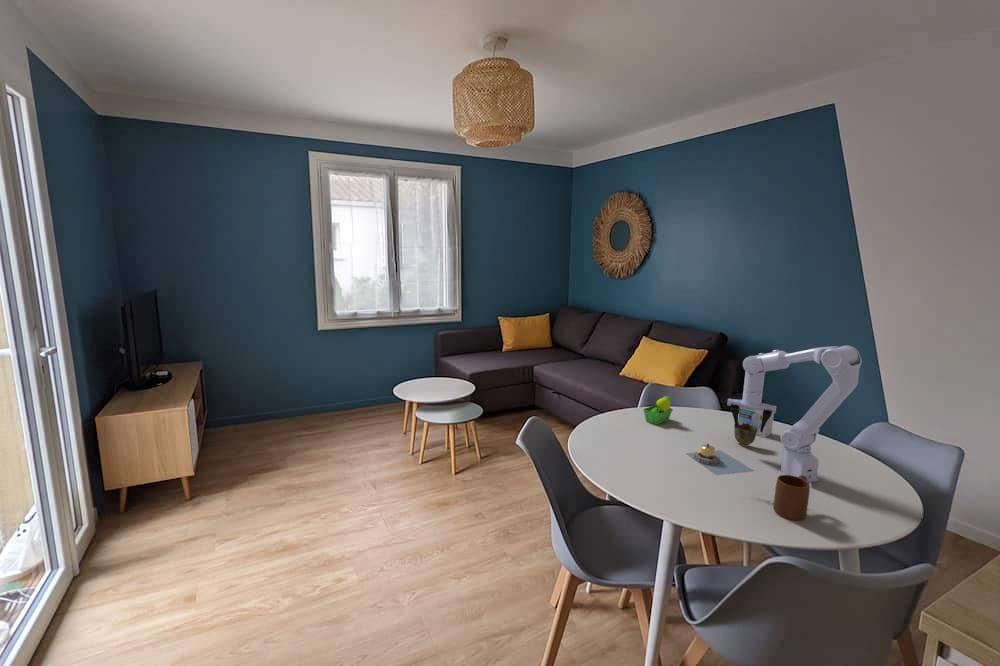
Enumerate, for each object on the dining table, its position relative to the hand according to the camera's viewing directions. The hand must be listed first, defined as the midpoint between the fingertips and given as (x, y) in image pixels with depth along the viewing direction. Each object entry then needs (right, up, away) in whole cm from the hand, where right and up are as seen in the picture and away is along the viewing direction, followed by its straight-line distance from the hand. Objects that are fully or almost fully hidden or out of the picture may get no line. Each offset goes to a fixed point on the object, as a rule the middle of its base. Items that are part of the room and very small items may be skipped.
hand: (748, 428), depth 162 cm
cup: (+3, -9, +10) cm, 13 cm away
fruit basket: (-19, -4, +35) cm, 40 cm away
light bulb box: (+15, -6, +24) cm, 29 cm away
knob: (-16, -10, -4) cm, 19 cm away
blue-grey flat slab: (-13, -11, -5) cm, 18 cm away
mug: (-5, -16, -33) cm, 37 cm away
